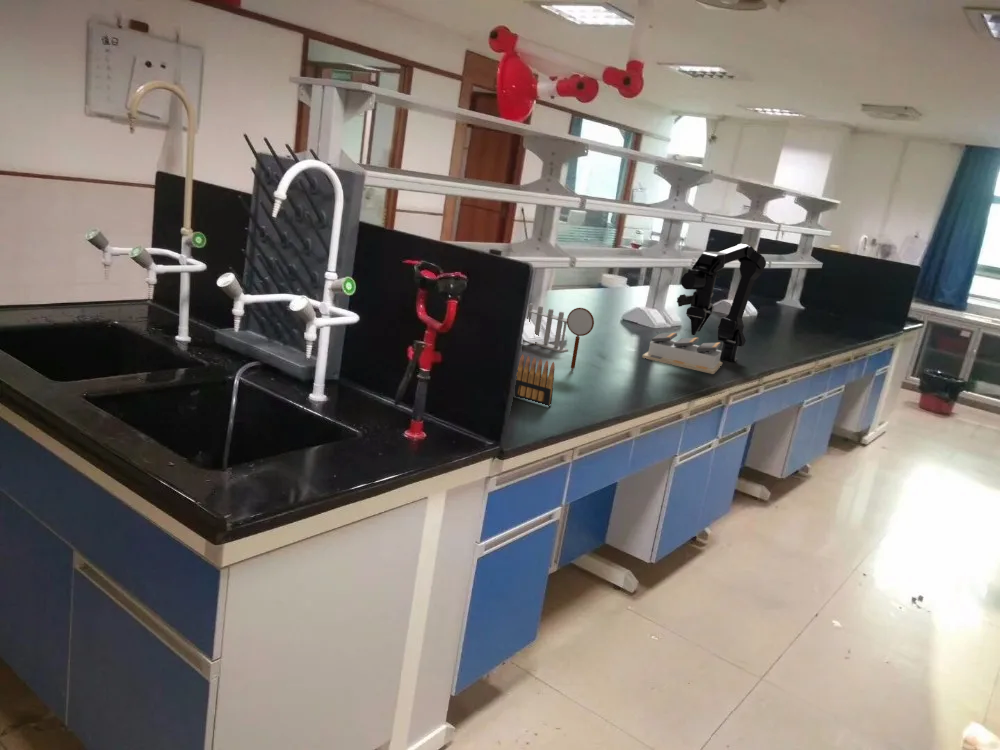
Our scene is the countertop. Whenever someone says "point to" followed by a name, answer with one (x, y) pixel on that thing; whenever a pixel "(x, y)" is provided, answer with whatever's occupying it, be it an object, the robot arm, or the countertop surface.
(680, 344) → the switch middle
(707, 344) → the switch
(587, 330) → the magnifying glass
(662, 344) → the switch unit
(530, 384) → the ammunition clip
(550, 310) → the grey picket fence
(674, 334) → the switch
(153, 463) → the countertop surface
